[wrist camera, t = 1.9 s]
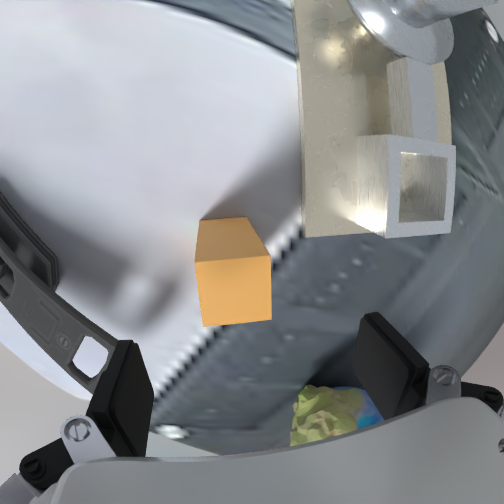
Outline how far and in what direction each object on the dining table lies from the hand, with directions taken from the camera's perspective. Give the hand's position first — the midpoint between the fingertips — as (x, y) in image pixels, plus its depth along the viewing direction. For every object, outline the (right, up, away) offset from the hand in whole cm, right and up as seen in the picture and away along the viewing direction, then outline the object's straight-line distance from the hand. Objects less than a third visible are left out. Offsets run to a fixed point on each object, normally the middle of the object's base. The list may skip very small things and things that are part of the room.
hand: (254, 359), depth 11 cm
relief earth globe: (+8, -16, +23) cm, 30 cm away
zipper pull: (-22, +2, +12) cm, 25 cm away
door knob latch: (+13, +19, +12) cm, 26 cm away
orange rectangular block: (-2, +5, +14) cm, 15 cm away
